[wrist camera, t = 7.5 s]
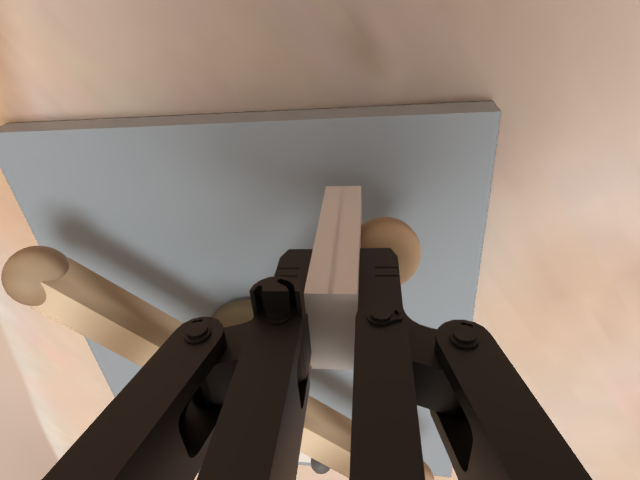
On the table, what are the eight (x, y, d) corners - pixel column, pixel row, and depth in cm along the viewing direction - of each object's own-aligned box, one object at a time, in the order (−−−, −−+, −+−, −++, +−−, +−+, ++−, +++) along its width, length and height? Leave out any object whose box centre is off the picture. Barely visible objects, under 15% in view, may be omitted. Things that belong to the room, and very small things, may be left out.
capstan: (148, -3, 15) (6, 16, 10) (597, 332, 20) (678, 474, 15) (6, 349, 27) (-96, 451, 21) (313, 505, 32) (297, 621, 27)
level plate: (1, 123, 21) (-44, 142, 19) (492, 100, 17) (508, 120, 15) (146, 433, 33) (129, 465, 31) (448, 455, 30) (453, 493, 28)
